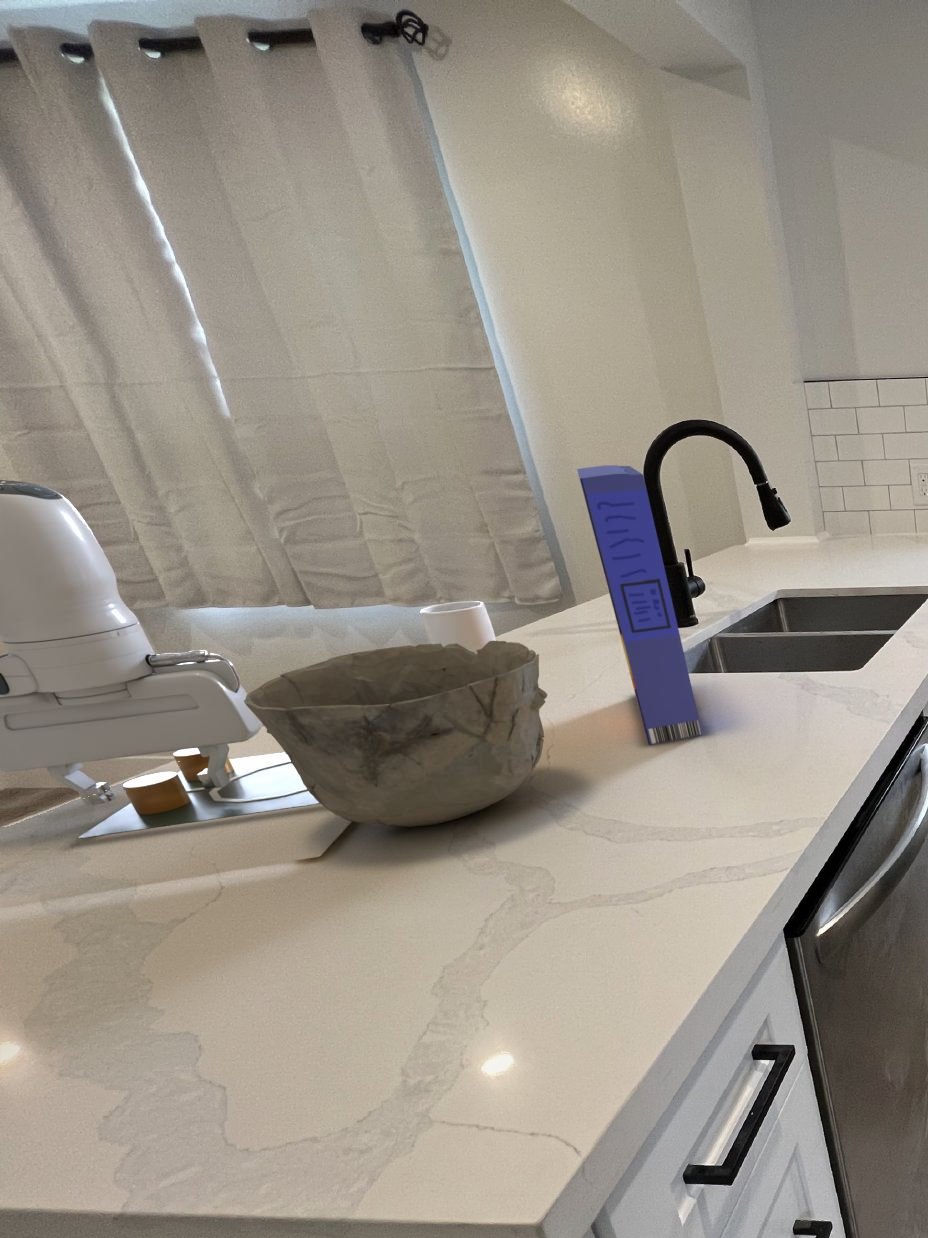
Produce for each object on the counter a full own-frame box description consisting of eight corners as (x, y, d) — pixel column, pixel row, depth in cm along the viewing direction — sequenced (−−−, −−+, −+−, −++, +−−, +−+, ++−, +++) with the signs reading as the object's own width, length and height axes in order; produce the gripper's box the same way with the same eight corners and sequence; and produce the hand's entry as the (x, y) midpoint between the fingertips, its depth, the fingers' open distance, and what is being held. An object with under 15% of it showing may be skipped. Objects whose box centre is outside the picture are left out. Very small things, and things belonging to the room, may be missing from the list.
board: (80, 848, 81) (74, 837, 80) (193, 772, 98) (189, 763, 98) (332, 810, 87) (328, 801, 86) (397, 745, 104) (394, 737, 104)
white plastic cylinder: (531, 718, 112) (495, 603, 106) (476, 734, 107) (435, 614, 100) (504, 710, 115) (468, 598, 109) (450, 725, 110) (408, 609, 104)
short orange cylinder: (177, 784, 92) (164, 758, 91) (197, 770, 96) (184, 746, 94) (223, 778, 93) (210, 752, 92) (241, 765, 97) (229, 740, 96)
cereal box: (636, 699, 118) (576, 466, 105) (682, 691, 120) (629, 463, 108) (649, 747, 100) (579, 476, 88) (703, 737, 103) (642, 472, 90)
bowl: (608, 806, 85) (566, 660, 79) (338, 894, 71) (260, 724, 65) (533, 755, 99) (493, 627, 93) (295, 820, 85) (228, 674, 79)
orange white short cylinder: (127, 817, 85) (112, 790, 83) (150, 802, 88) (136, 775, 87) (177, 810, 86) (163, 783, 84) (199, 795, 89) (185, 769, 88)
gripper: (240, 640, 86) (297, 766, 92) (-26, 667, 80) (53, 800, 86) (208, 655, 81) (271, 788, 87) (-80, 685, 75) (9, 825, 81)
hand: (160, 794), depth 86 cm, fingers open, 8 cm apart
